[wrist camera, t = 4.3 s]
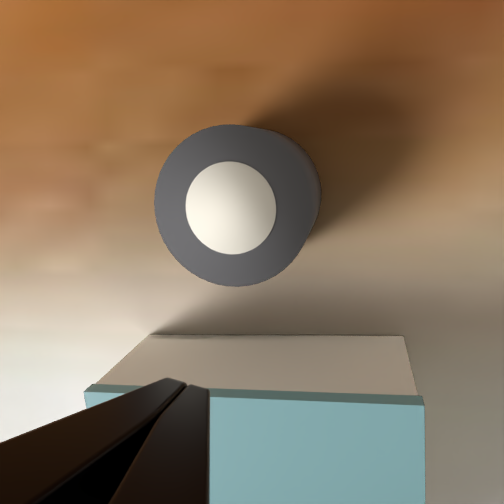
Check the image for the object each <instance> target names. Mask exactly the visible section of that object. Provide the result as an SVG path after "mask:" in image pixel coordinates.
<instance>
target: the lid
mask: <svg viewBox="0 0 504 504" xmlns="http://www.w3.org/2000/svg"><path fill="white" fill-rule="evenodd" d="M141 387H143V386H136V385H109V384H92V385H91V386H90V387H88V388H87V389H86V390H85V391H84V396H85V402H86V408H90V407H92V406H95V405H97V404H100V403H103V402H105V401H108V400H110V399H113V398H115V397H118V396H120V395H123V394H125V393H128V392H130V391H133V390H135V389H138V388H141ZM207 389H209V390H210V504H425V408H424V402H423V398H422V396H412V395H384V394H357V393H329V392H302V391H274V390H247V389H219V388H207Z"/></svg>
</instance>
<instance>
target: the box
mask: <svg viewBox="0 0 504 504" xmlns="http://www.w3.org/2000/svg"><path fill="white" fill-rule="evenodd" d="M163 378H172V379H175V380H179V381H182V382H185V383H186V384H187V386H188V385H190V384H193V385H196V386H200V387H203V388H219V389H247V390H274V391H302V392H329V393H357V394H384V395H412V396H418V393H417V389H416V385H415V381H414V377H413V373H412V369H411V365H410V361H409V357H408V353H407V349H406V345H405V341H404V337H403V336H300V335H148V336H147V337H146V338H145V339H144V340H142V341H141V342H140V343H139V344H138V345H137V346H136V347H135V348H134V349H133V350H132V351H131V352H129V353H128V354H127V355H126V356H125V357H124V358H123V359H122V360H121V361H120V362H119V363H118V364H116V365H115V366H114V367H113V368H112V369H111V370H110V371H109V372H108V373H107V374H106V375H104V376H103V377H102V378H101V379H100V380H99V381H98V382H97V383H96V384H109V385H136V386H146V385H148V384H151V383H153V382H156V381H158V380H161V379H163Z"/></svg>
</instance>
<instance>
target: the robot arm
mask: <svg viewBox="0 0 504 504" xmlns="http://www.w3.org/2000/svg"><path fill="white" fill-rule="evenodd" d="M0 504H210V390H209V389H207V388H203V387H200V386H196V385H193V384H190V385H188V386H187V384H186V383H185V382H182V381H179V380H175V379H172V378H163V379H161V380H158V381H156V382H153V383H151V384H148V385H146V386H143V387H141V388H138V389H135V390H133V391H130V392H128V393H125V394H123V395H120V396H118V397H115V398H113V399H110V400H108V401H105V402H103V403H100V404H97V405H95V406H92V407H90V408H87V409H85V410H82V411H80V412H77V413H75V414H72V415H70V416H67V417H64V418H62V419H59V420H57V421H54V422H52V423H49V424H47V425H44V426H42V427H39V428H37V429H34V430H32V431H29V432H26V433H24V434H21V435H19V436H16V437H14V438H11V439H9V440H6V441H4V442H1V443H0Z"/></svg>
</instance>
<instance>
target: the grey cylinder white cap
mask: <svg viewBox="0 0 504 504" xmlns="http://www.w3.org/2000/svg"><path fill="white" fill-rule="evenodd" d="M320 204H321V185H320V180H319V176H318V172H317V170H316V168H315V165H314V163H313V162H312V160H311V158H310V157H309V155H308V154H307V153H306V152H305V150H304V149H303V148H302V147H301V146H300V145H299V144H297V143H296V142H295V141H293V140H292V139H290V138H289V137H287V136H285V135H283V134H280V133H278V132H275V131H271V130H266V129H261V128H255V127H249V126H242V125H219V126H213V127H209V128H206V129H203V130H201V131H199V132H197V133H195V134H193V135H191V136H190V137H188V138H187V139H185V140H184V141H183V142H182V143H180V144H179V145H178V146H177V147H176V148H175V149H174V150H173V152H172V153H171V154H170V155H169V157H168V158H167V160H166V162H165V163H164V165H163V167H162V169H161V171H160V174H159V177H158V180H157V184H156V189H155V200H154V206H155V216H156V221H157V225H158V228H159V231H160V234H161V236H162V238H163V241H164V243H165V244H166V246H167V248H168V249H169V251H170V252H171V253H172V255H173V256H174V257H175V259H176V260H177V261H178V262H179V263H180V264H181V265H182V266H183V267H185V268H186V269H187V270H189V271H190V272H191V273H193V274H194V275H196V276H198V277H199V278H202V279H204V280H206V281H208V282H211V283H215V284H218V285H224V286H234V287H239V286H249V285H253V284H258V283H260V282H263V281H266V280H268V279H270V278H272V277H274V276H276V275H277V274H278V273H280V272H281V271H283V270H284V269H285V268H286V267H287V266H288V265H289V264H290V263H291V262H292V261H293V260H294V259H295V257H296V256H297V255H298V253H299V252H300V250H301V248H302V247H303V245H304V243H305V241H306V239H307V237H308V235H309V233H310V231H311V229H312V227H313V226H314V223H315V221H316V219H317V217H318V213H319V210H320Z"/></svg>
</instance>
